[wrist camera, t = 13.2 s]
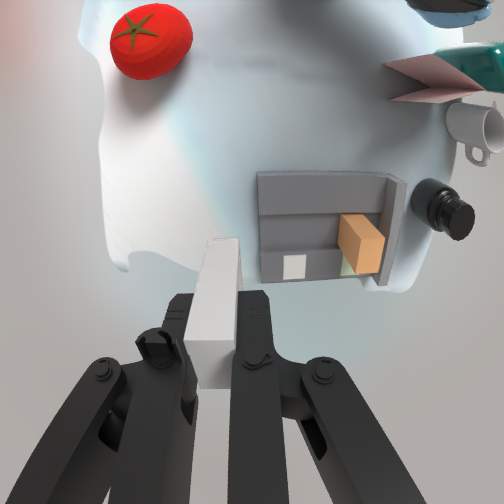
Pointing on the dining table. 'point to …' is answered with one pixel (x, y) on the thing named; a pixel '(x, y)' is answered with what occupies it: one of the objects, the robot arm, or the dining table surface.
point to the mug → (476, 129)
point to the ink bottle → (442, 209)
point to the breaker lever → (360, 243)
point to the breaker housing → (323, 221)
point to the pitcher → (478, 62)
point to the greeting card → (434, 79)
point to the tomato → (150, 41)
